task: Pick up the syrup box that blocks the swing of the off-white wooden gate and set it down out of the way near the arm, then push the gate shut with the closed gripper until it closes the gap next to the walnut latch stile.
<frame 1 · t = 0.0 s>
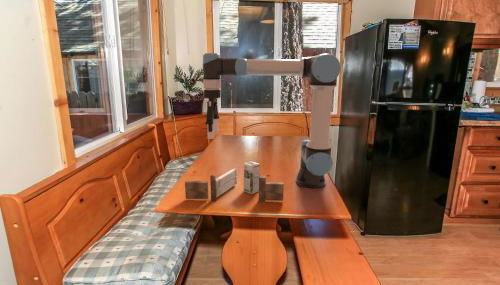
hand: (213, 135, 136), 28 cm above the table, fingers open, 13 cm apart
gate: (226, 181, 141), point 5 cm above the table, hinge at 65.0°
syrup box: (251, 191, 143), on the table
fence: (213, 200, 132), on the table
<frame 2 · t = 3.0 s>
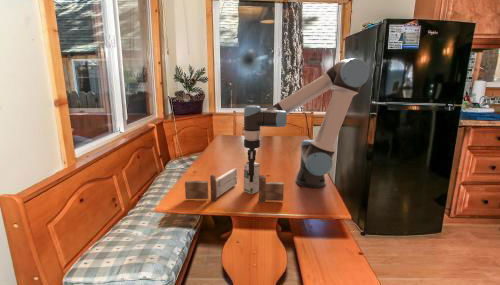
hand: (251, 184, 142), 4 cm above the table, fingers closed on syrup box, 8 cm apart
syrup box: (251, 191, 143), on the table, touching gripper
everything else where it was.
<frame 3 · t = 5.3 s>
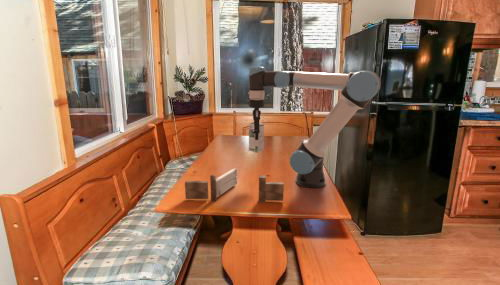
hand: (256, 143, 149), 21 cm above the table, fingers closed on syrup box, 8 cm apart
syrup box: (256, 151, 150), point 17 cm above the table, touching gripper
everything else where it was.
when the fingers open (5 cm above the table, at t = 7.6 s): syrup box drops 1 cm, on the table.
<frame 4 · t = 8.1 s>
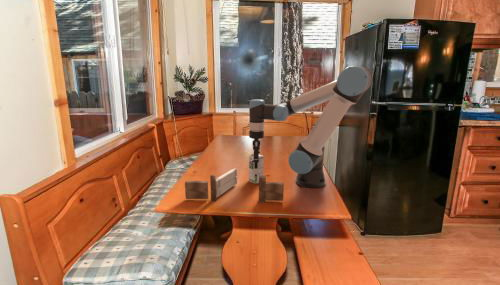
hand: (256, 169, 153), 7 cm above the table, fingers open, 13 cm apart
syrup box: (255, 181, 155), on the table
everything else where it was.
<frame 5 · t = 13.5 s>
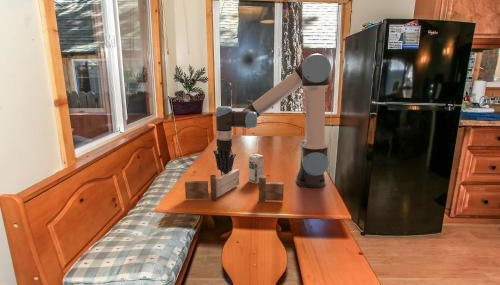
hand: (224, 183, 147), 2 cm above the table, fingers closed
gate: (227, 182, 140), point 5 cm above the table, hinge at 60.8°, touching gripper
everything else where it was.
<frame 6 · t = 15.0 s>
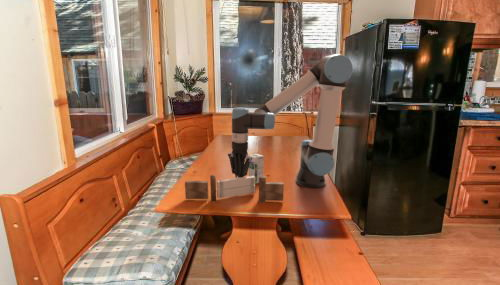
hand: (239, 188, 140), 2 cm above the table, fingers closed
gate: (236, 186, 135), point 5 cm above the table, hinge at 23.0°, touching gripper
everything else where it was.
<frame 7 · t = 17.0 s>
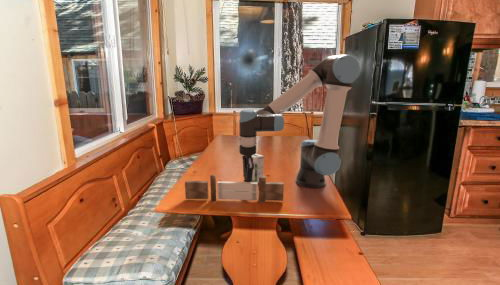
hand: (247, 193, 136), 2 cm above the table, fingers closed
gate: (237, 190, 131), point 5 cm above the table, hinge at -1.0°, touching gripper
everything else where it was.
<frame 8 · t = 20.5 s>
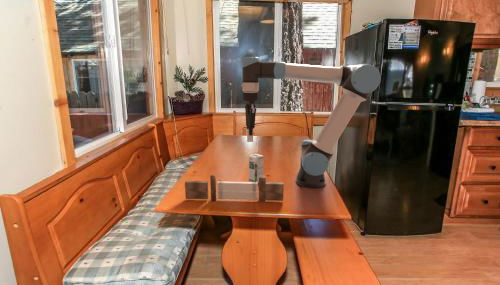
hand: (250, 141, 139), 24 cm above the table, fingers closed
gate: (237, 190, 131), point 5 cm above the table, hinge at -0.5°
everything else where it was.
at the end: gate at +0° (first picture: +65°); syrup box inside the target area (0.2 cm from its centre), on the table; syrup box tilted 0° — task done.
